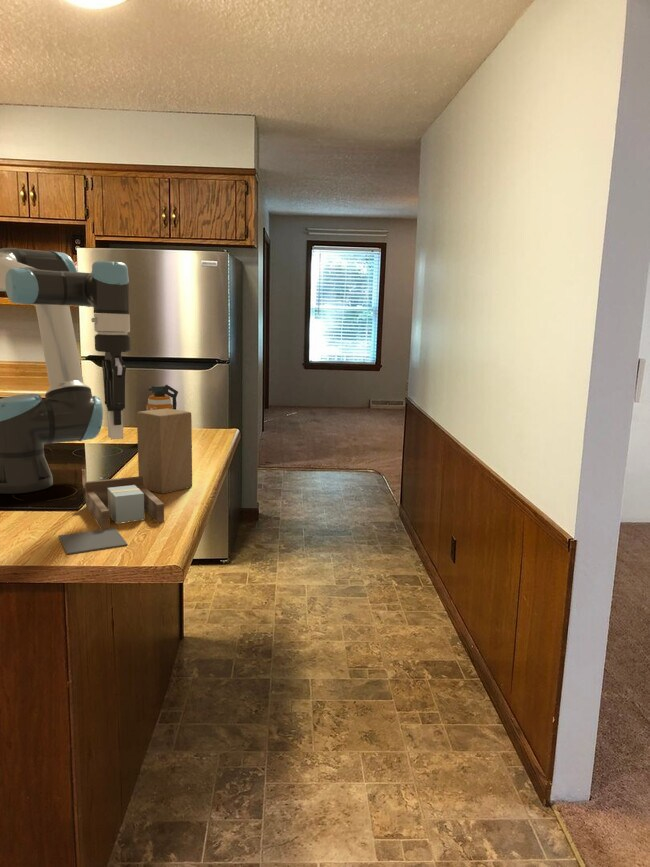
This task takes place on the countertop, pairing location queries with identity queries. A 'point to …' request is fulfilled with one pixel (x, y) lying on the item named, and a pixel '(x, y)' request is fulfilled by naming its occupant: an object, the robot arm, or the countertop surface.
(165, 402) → the orange rounded handled piece
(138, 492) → the block
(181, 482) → the wooden block
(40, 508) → the countertop surface
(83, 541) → the mat
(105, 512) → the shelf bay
